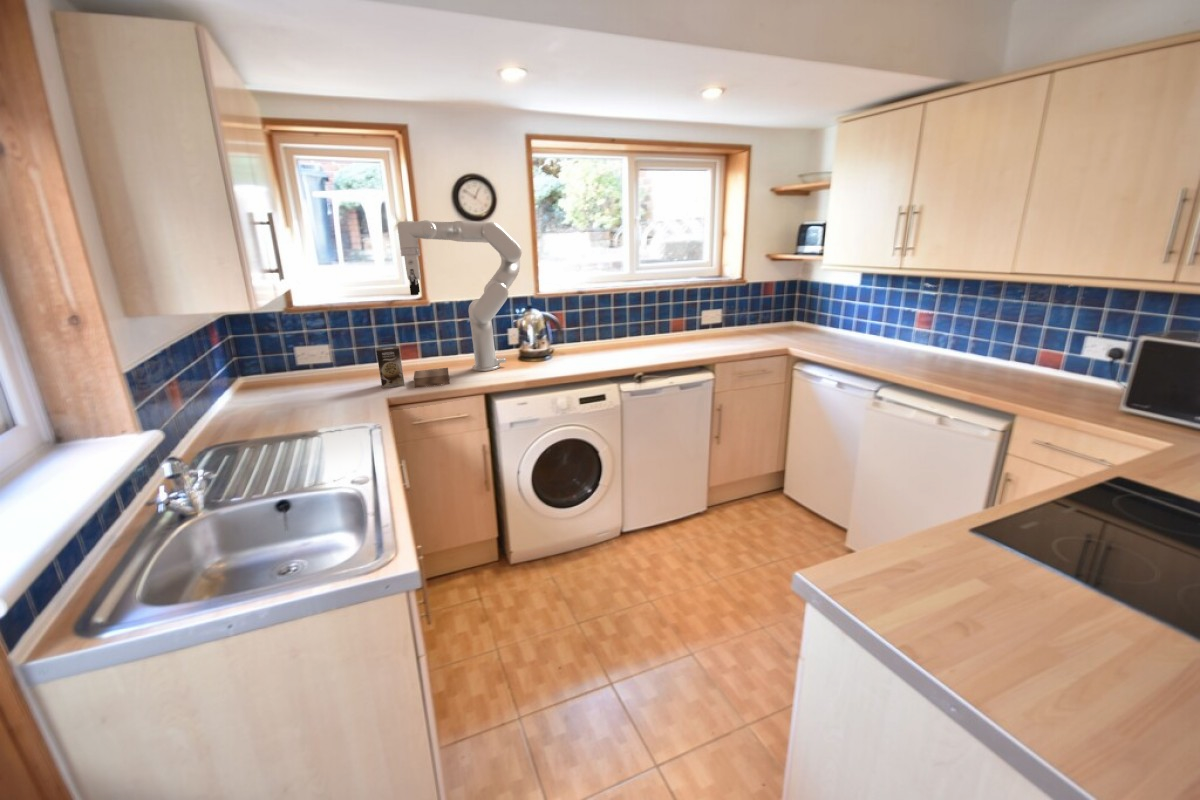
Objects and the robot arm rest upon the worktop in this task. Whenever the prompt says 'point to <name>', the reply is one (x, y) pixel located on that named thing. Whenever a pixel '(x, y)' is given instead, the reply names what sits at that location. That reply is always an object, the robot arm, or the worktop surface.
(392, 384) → the coffee box
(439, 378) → the walnut plinth
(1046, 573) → the worktop surface
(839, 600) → the worktop surface
